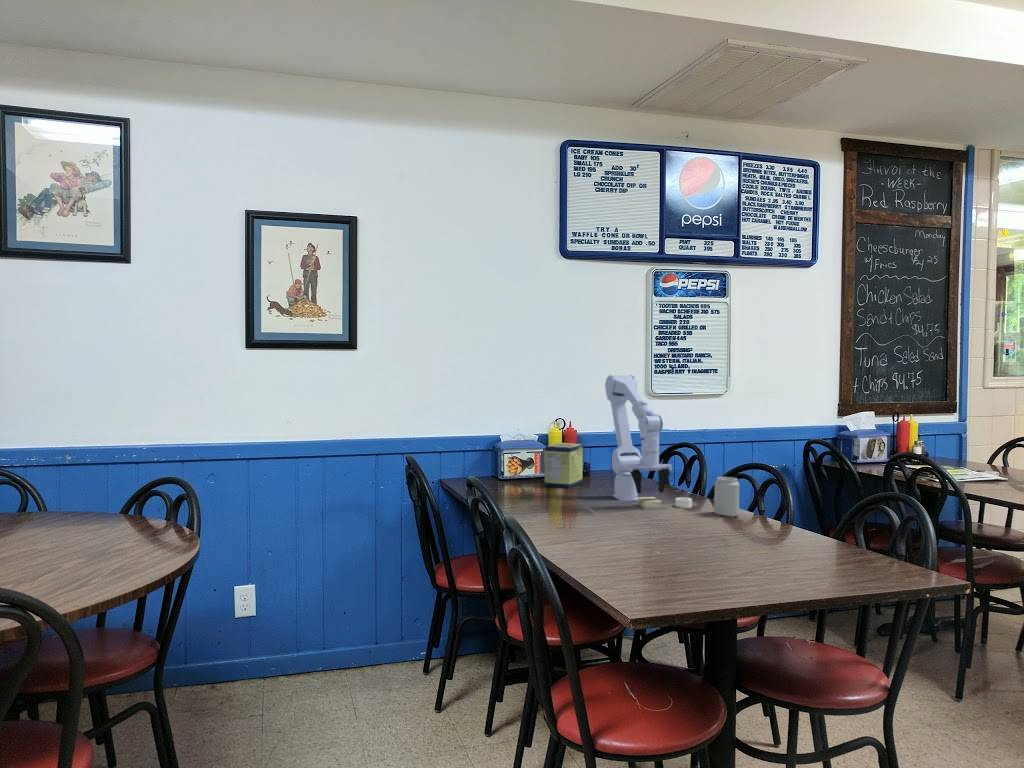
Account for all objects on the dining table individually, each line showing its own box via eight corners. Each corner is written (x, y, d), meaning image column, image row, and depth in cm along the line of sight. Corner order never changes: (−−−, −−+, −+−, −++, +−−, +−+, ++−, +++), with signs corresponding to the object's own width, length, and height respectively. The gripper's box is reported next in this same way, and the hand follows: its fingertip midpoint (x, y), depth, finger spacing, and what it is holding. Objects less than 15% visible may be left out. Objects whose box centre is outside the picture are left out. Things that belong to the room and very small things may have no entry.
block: (637, 504, 252) (637, 497, 252) (653, 503, 253) (653, 496, 253) (645, 508, 244) (645, 501, 244) (661, 508, 245) (661, 501, 245)
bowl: (673, 506, 252) (673, 497, 252) (687, 506, 252) (688, 497, 252) (679, 509, 246) (679, 500, 246) (694, 509, 247) (694, 500, 247)
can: (741, 518, 234) (742, 479, 234) (717, 517, 234) (718, 479, 234) (735, 513, 242) (735, 476, 241) (711, 512, 242) (712, 475, 241)
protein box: (582, 482, 299) (583, 443, 298) (569, 488, 285) (570, 447, 284) (558, 480, 303) (558, 442, 303) (544, 486, 289) (544, 446, 288)
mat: (629, 504, 255) (629, 502, 255) (655, 503, 256) (655, 501, 256) (641, 511, 243) (641, 509, 243) (668, 510, 244) (668, 509, 244)
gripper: (633, 453, 243) (632, 495, 243) (675, 452, 245) (675, 494, 246) (626, 450, 250) (625, 491, 250) (667, 450, 252) (667, 490, 252)
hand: (649, 492), depth 248 cm, fingers open, 7 cm apart
